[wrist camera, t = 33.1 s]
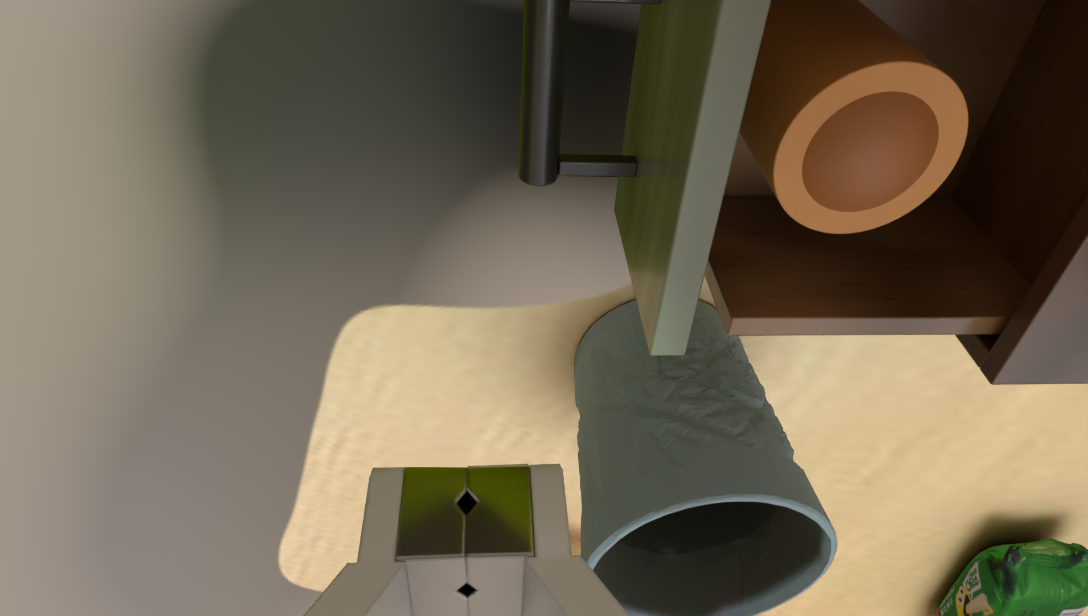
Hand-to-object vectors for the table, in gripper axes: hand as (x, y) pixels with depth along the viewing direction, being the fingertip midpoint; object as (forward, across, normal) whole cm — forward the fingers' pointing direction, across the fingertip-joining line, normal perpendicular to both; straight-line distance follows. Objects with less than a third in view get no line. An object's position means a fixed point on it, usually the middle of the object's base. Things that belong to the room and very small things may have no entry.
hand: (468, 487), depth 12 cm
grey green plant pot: (+20, -9, +16) cm, 27 cm away
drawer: (+19, -11, 0) cm, 21 cm away
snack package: (+20, -38, +39) cm, 58 cm away
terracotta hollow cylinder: (+17, -12, 0) cm, 21 cm away
